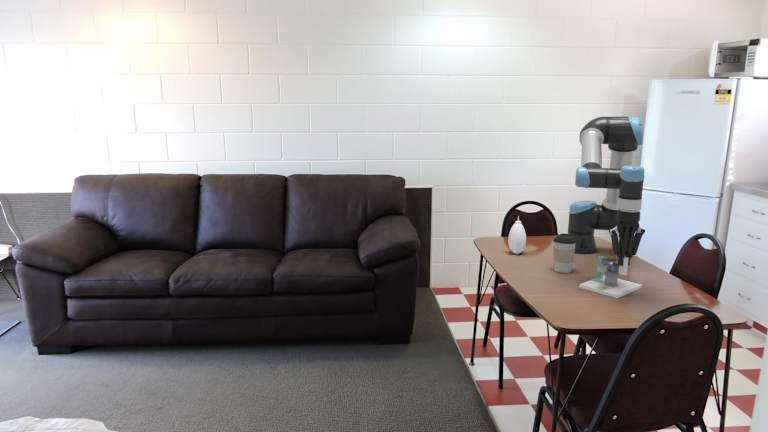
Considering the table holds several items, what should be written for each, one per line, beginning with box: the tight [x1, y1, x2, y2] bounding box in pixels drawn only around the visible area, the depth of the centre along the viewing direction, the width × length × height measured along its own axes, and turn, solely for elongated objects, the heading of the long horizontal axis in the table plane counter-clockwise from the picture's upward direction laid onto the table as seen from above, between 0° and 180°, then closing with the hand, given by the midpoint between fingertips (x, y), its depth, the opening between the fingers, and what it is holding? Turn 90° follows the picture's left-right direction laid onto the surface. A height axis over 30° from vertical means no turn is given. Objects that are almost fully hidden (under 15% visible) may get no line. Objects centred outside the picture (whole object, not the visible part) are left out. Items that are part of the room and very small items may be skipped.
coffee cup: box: [552, 233, 576, 274], centre depth 219 cm, size 9×9×15 cm
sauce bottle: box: [507, 215, 527, 255], centre depth 243 cm, size 8×8×18 cm
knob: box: [597, 257, 619, 273], centre depth 197 cm, size 15×8×3 cm, turn 128°
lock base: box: [578, 255, 643, 299], centre depth 198 cm, size 18×15×10 cm
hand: (622, 274), depth 191 cm, fingers closed
